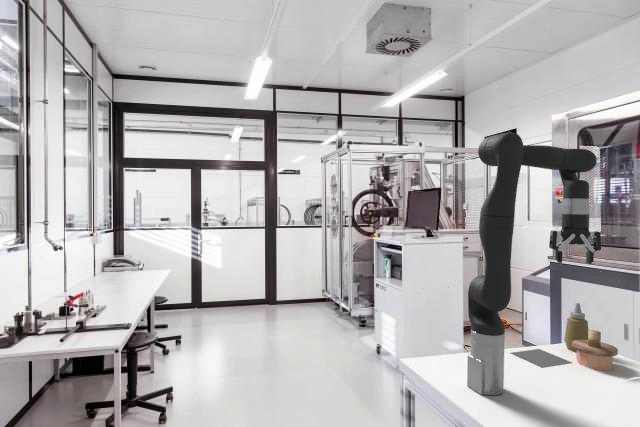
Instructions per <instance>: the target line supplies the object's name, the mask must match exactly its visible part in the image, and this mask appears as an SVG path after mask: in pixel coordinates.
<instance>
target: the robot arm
mask: <svg viewBox="0 0 640 427" xmlns="http://www.w3.org/2000/svg"><path fill="white" fill-rule="evenodd" d="M477 153H478V154H477V155H478V157H479V159H480V161H481V162H482V163H483V164H484V165H486V166H488V167H489V166H490V167H497V168H496V176H495V181H494V184H493V186H492V187H491V190H490V191H489V192H488V195H487V196H486V198H485V199H484V201H483V204H482V206H481V208H480V213H479V224H478V225H479V227H478V229H479V230H478V232H479V239H480V242H481V246H482V250H483V253H484V258H485V270H484V271H485V272H484V275H483V274H481V275H477V276H475V277H474V278H473V279H472V280H471V281H470V283H469V286H468V290H467V291H468V292H467V309H468V310H467V312H468V320H469V323H470V354H467V366H466V367H467V369H466V370H467V375H466V376H467V378H466V379H467V380H466V386H467V387H468V388H469V389H471V390H473V391H475V392H476V393H478V394H479V395H483V396H484V395H486V396H499V395H502V394H503V393H504V386H505V385H504V382H505V376H504V375H505V341H506V340H505V339H506V338H505V337H506V336H505V335H506V334H505V332H506V326H505V325H506V324H505V323H504V321H503V319H502V318H501V317H500V314H499V312H502V311H504V310H505V309H506V308H507V307H508V306H509V304H510V301H511V297H512V275H511V272H512V271H511V270H512V269H511V268H512V267H511V266H512V265H511V264H512V263H511V261H512V249H513V248H512V246H513V236H514V228H515V216H516V213H515V212H516V211H515V210H516V200H517V193H518V184H519V178H520V173H521V168H522V166H524V167H532V168H540V169H545V170H546V169H547V170H551V171H553V170H554V171H558V172H559V173H558V174H559V176H560V180H561V184H562V187H563V189H562V190H563V191H562V203H561V229H560V230H551V231H550V232H549V233H550V235H549V245H548V246H549V247H548V248H550V249H551V250H554V251H555V256H554V257H555V259H554V260H555V261H556V262H557V263H559V264H563V250H564V249H565V247H567V246H568V245H578V246H579V245H580V246H583V247H584V249H585V250H586V252H585V255H586V256H585V259H586V260H585V262H586V264H587V265H592V263H594V260H595V258H594V257H595V256H594V255H595V252H597V251H601V250H602V237H601V232H600V231H597V230H596V231H595V230H594V231H590V212H591V211H590V210H591V209H590V207H591V206H590V183H589V182H588V181H587V180H582V179H579V177H578V175H577V173H587V172H589V171H592V170H593V169H594V168H595V167H596V166H597V162H598V159H597V155H596V154H595V153H594V152H593V151H591V150H589V149H585V148H562V147H558V146H552V145H539V144H537V145H535V144H531V145H530V144H529V145H526V144H524V142H523V140H522V138H521V136H520V135H519V134H518V133H516V132H505V133H504V132H503V133H499V134H494V135H490V136H488V137H485V138H484V139H483V140H482V141H481V142H480V143H479V145H478V148H477ZM559 236H561V238H562V239H561V240H560V241H559V242H558V244H557V240H558V238H559ZM589 237H591V239H592V244H591V242H590V241H589V240H588V239H589ZM592 245H593V246H592Z"/></svg>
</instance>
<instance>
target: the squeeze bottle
mask: <svg viewBox="0 0 640 427" xmlns="http://www.w3.org/2000/svg"><path fill="white" fill-rule="evenodd" d="M569 314H570V315H569V316H570V317H567V320H566V327H565V332H564V333H565V334H564V340H563V341H564V342H565V346H566V348H567V350H568V351H570V352H573V353H576V351H577V350H576V349H574V348H573V347H572V341H574V340H588V330H589V321H588V320H586V314H585V313H584V312H582V309H581V304H580V303H577V302H576V303H575V306H574V309H573V311H570V312H569Z"/></svg>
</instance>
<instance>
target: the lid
mask: <svg viewBox="0 0 640 427" xmlns="http://www.w3.org/2000/svg"><path fill="white" fill-rule="evenodd" d="M601 335H602V332H601V331H599V330H595V329H588V340H574V341H572V347H573V348H574V349H576V350H578V351H580V352H583V353H586V354H591V355H596V356H604V357H612V356H613V357H616V356H618V353H619V350H618V348H617V347H615V346H613V345H611V344H609V343H606V342H602V341H601V340H602V339H601V338H602V336H601Z"/></svg>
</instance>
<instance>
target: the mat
mask: <svg viewBox="0 0 640 427" xmlns="http://www.w3.org/2000/svg"><path fill="white" fill-rule="evenodd" d="M509 354H511V355H513V356H515V357H518V358H519V359H521V360H524V361H526V362H529V363H530V364H532V365H534V366H537V367H539V368H542V369H543V368H549V367H550V368H551V367H555V366H562V365H563V366H564V365H568V364H573V361H570V360H567V359H565V358H562V357H560V356H558V355H555V354H553V353H550V352H548V351H545V350H543V349H541V348H535V349H529V350H522V351H520V350H519V351H513V352H509Z"/></svg>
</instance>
